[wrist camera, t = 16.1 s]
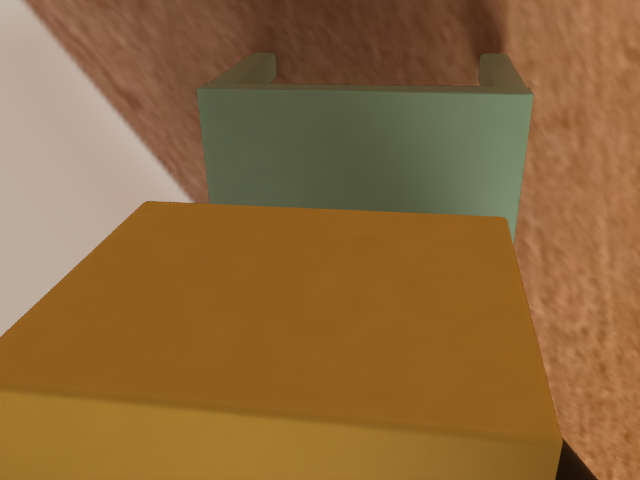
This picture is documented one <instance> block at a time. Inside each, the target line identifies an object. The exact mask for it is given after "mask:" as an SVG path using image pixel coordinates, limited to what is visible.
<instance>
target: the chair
mask: <svg viewBox="0 0 640 480" xmlns="http://www.w3.org/2000/svg"><path fill="white" fill-rule="evenodd" d="M276 76H277V74H276V56H275V54H274V53H252V54H250V55H249V56H248V57H246V58H245V59H243V60H242V61H240V62H239V63H237V64H236V65H234V66H233V67H232V68H230V69H229V70H227V71H226V72H224V73H223V74H221V75H220V76H219V77H217V78H216V79H214V80H213V81H211V82H210V83H205V84H203V85H202V86H200V87H199V88H198V89H197V97H198V105H199V114H200V123H201V132H202V140H203V149H204V158H205V167H206V175H207V184H208V193H209V201H210V204H225V205H248V206H270V207H293V208H316V209H339V210H361V211H384V212H407V213H430V214H452V215H475V216H498V217H504V218H506V219H507V222H508V225H509V229H510V233H511V237H512V241H513V245H514V239H515V232H516V224H517V217H518V209H519V202H520V194H521V187H522V179H523V171H524V164H525V156H526V149H527V141H528V134H529V126H530V119H531V111H532V104H533V96H534V95H533V92H532V91H531V89H530V88H529V87H526V86H525V84H524V82H523V81H522V79H521V77H520V75H519V74H518V72H517V70H516V68H515V67H514V65H513V63H512V62H511V60H510V58H509V56H508V55H507V54H481V56H480V66H479V77H478V78H479V82H480V85H481V86H415V85H335V84H270V83H271V82H272V81H273V80H274V79H275V78H276Z"/></svg>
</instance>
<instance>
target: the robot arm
mask: <svg viewBox="0 0 640 480" xmlns="http://www.w3.org/2000/svg"><path fill="white" fill-rule="evenodd" d="M562 440H563V443H562V448H561V453H560V458H559V463H558V468H557V473H556V478H555V480H598V479H597V478H596V477H595V476H594V475H593V473H592V472H591V471H590V470H589V469H588V467H587V466H586V465H585V464H584V463H583V462H582V460H581V459H580V458H579V457H578V456H577V454H576V453H575V452H574V451H573V450H572V448H571V447H570V446H569V445H568V444H567V443H566V441H565V440H564V439H563V438H562Z"/></svg>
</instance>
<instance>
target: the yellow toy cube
mask: <svg viewBox="0 0 640 480" xmlns="http://www.w3.org/2000/svg"><path fill="white" fill-rule="evenodd" d="M562 443H563V440H562V436H561V432H560V428H559V424H558V421H557V417H556V413H555V409H554V405H553V401H552V397H551V393H550V389H549V385H548V381H547V377H546V373H545V369H544V365H543V361H542V357H541V353H540V349H539V345H538V341H537V337H536V333H535V329H534V325H533V321H532V317H531V313H530V309H529V305H528V301H527V297H526V293H525V289H524V285H523V281H522V277H521V273H520V269H519V265H518V261H517V257H516V253H515V249H514V245H513V241H512V237H511V233H510V229H509V225H508V222H507V219H506V218H504V217H498V216H475V215H452V214H430V213H407V212H384V211H361V210H339V209H316V208H293V207H270V206H248V205H225V204H202V203H179V202H156V201H147V202H145V203H143V204H142V205H141V206H140V207H139V208H138V209H137V210H136V211H135V212H134V213H132V214H131V215H130V216H129V217H128V218H127V219H126V220H125V221H124V222H123V223H122V224H121V225H120V226H119V227H117V228H116V229H115V230H114V231H113V232H112V233H111V234H110V235H109V236H108V237H107V238H106V239H105V240H104V241H102V242H101V243H100V244H99V245H98V246H97V247H96V248H95V249H94V250H93V251H92V252H91V253H90V254H89V255H88V256H87V257H86V258H84V259H83V260H82V261H81V262H80V263H79V264H78V265H77V266H76V267H75V268H74V269H73V270H72V271H70V272H69V273H68V274H67V275H66V276H65V277H64V278H63V279H62V280H61V281H60V282H59V283H58V284H57V285H56V286H54V287H53V288H52V289H51V290H50V291H49V292H48V293H47V294H46V295H45V296H44V297H43V298H42V299H41V300H40V301H39V302H37V303H36V304H35V305H34V306H33V307H32V308H31V309H30V310H29V311H28V312H27V313H26V314H25V315H24V316H22V317H21V318H20V319H19V320H18V321H17V322H16V323H15V324H14V325H13V326H12V327H11V328H10V329H9V330H8V331H6V332H5V333H4V334H3V335H2V336H1V337H0V480H555V478H556V473H557V468H558V463H559V458H560V453H561V448H562Z"/></svg>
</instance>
